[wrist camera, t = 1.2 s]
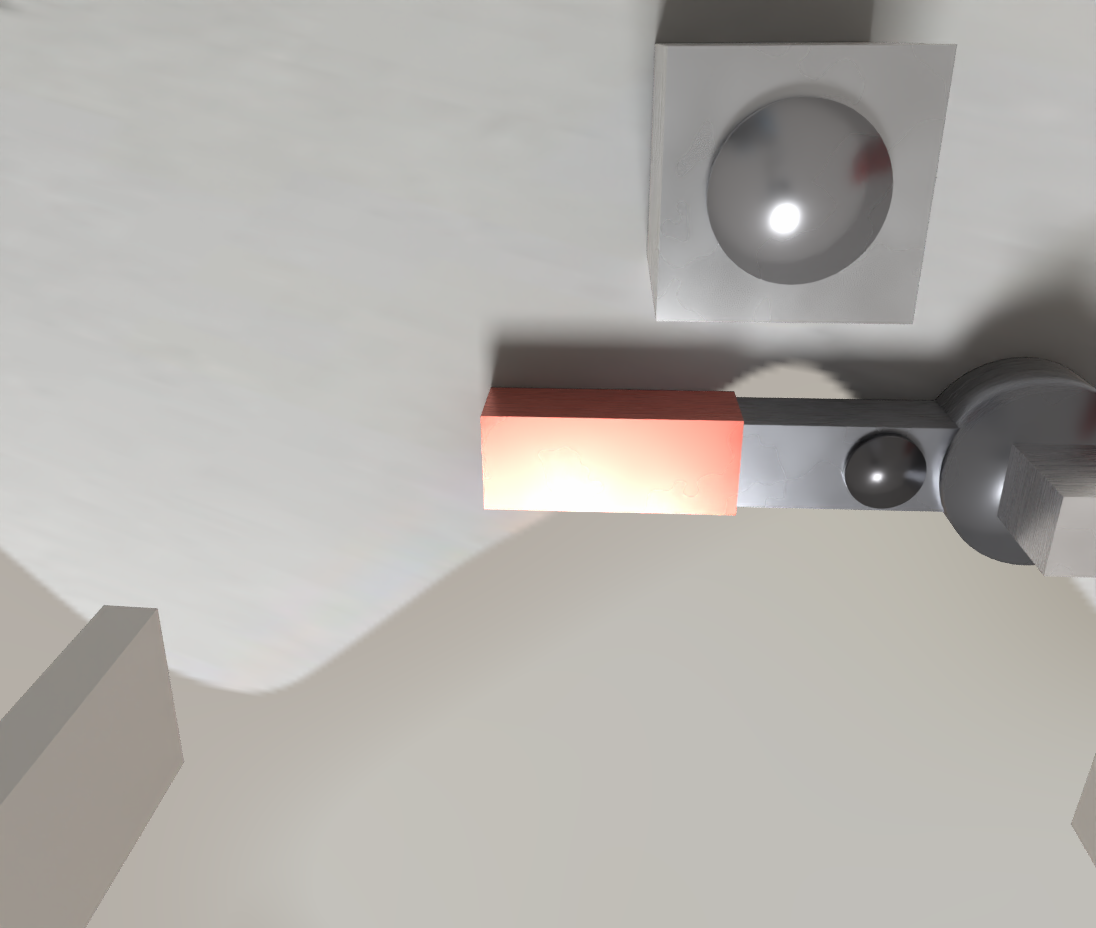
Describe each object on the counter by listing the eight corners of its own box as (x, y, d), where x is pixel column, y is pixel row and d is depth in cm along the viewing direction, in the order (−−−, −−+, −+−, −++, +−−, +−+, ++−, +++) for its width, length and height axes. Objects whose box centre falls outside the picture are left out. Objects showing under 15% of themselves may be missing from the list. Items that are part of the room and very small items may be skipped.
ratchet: (489, 349, 31) (459, 424, 25) (1121, 358, 29) (1247, 440, 23) (495, 507, 33) (468, 610, 27) (1078, 522, 32) (1184, 633, 26)
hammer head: (655, 43, 27) (668, 46, 20) (870, 42, 26) (962, 44, 19) (646, 255, 29) (656, 325, 22) (844, 257, 29) (917, 329, 22)
